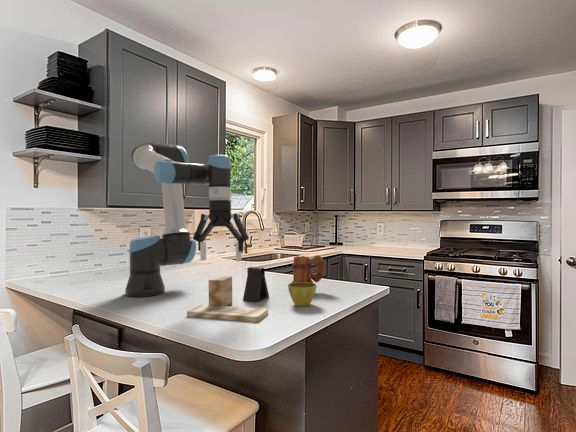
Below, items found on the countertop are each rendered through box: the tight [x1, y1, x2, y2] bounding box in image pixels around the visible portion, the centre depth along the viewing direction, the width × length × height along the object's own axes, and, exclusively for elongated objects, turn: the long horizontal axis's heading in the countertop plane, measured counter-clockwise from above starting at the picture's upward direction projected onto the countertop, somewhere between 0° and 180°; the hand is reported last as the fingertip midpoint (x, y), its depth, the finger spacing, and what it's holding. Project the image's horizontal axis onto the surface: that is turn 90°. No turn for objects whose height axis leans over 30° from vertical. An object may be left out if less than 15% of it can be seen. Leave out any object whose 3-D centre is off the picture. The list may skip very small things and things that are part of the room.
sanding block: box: [208, 275, 233, 307], centre depth 124 cm, size 5×8×10 cm, turn 164°
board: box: [186, 304, 269, 323], centre depth 114 cm, size 24×9×2 cm, turn 74°
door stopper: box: [242, 266, 270, 303], centre depth 135 cm, size 9×6×12 cm, turn 152°
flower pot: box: [287, 282, 317, 307], centre depth 126 cm, size 10×10×7 cm
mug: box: [290, 254, 326, 283], centre depth 148 cm, size 15×8×15 cm, turn 68°
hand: (220, 260), depth 124 cm, fingers open, 13 cm apart
